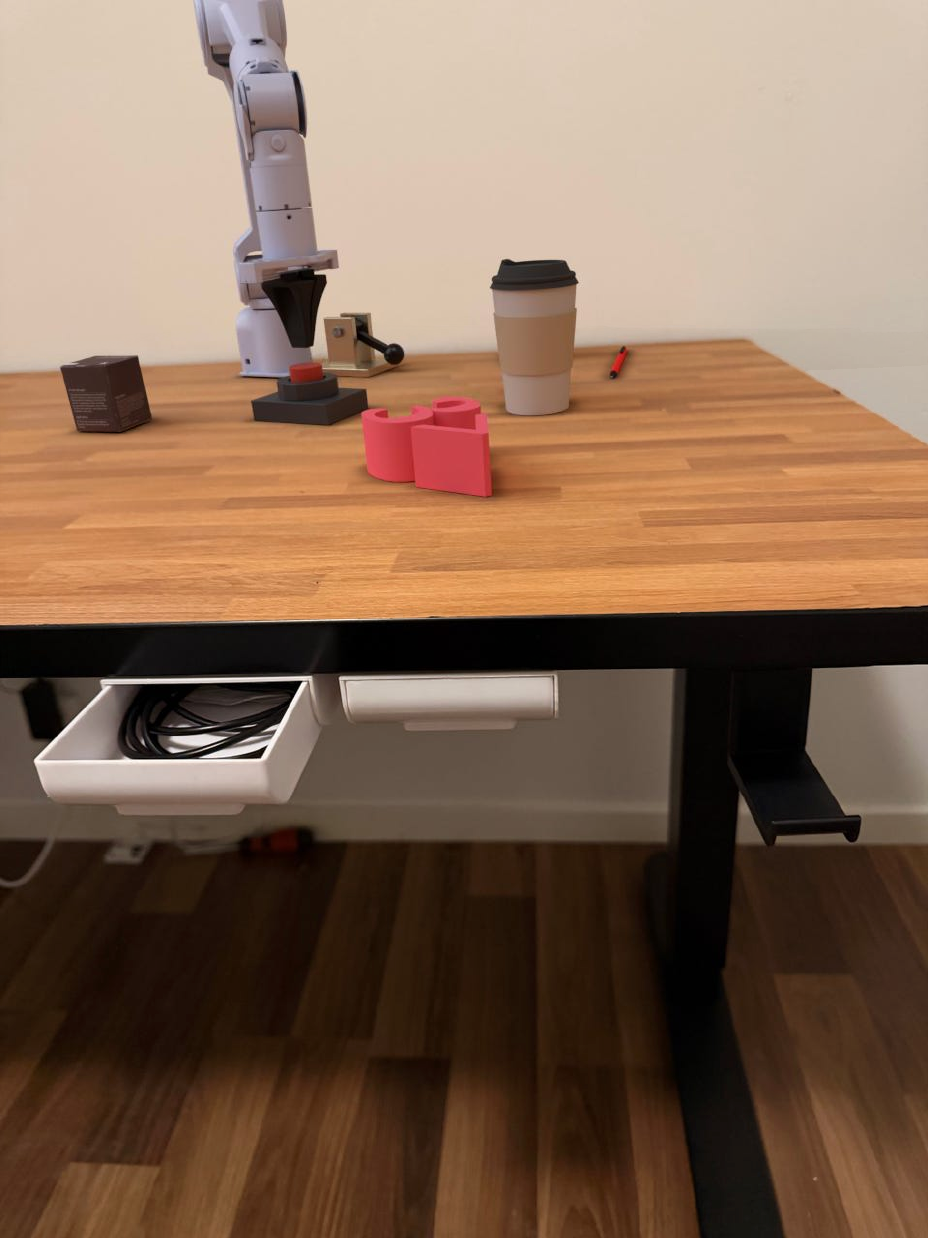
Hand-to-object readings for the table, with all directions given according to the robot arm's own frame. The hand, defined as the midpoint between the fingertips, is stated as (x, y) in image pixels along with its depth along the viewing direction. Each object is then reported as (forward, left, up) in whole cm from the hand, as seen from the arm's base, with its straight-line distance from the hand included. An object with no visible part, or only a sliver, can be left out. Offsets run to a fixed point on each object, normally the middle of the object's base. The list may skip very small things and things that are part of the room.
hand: (302, 346), depth 98 cm
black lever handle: (-7, +24, -5) cm, 25 cm away
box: (-20, -10, -8) cm, 24 cm away
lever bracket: (-10, +24, -7) cm, 27 cm away
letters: (+26, -17, -8) cm, 32 cm away
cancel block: (0, 0, -7) cm, 7 cm away
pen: (+25, +33, -8) cm, 42 cm away
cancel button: (0, 0, -4) cm, 4 cm away
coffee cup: (+24, +8, -8) cm, 26 cm away
